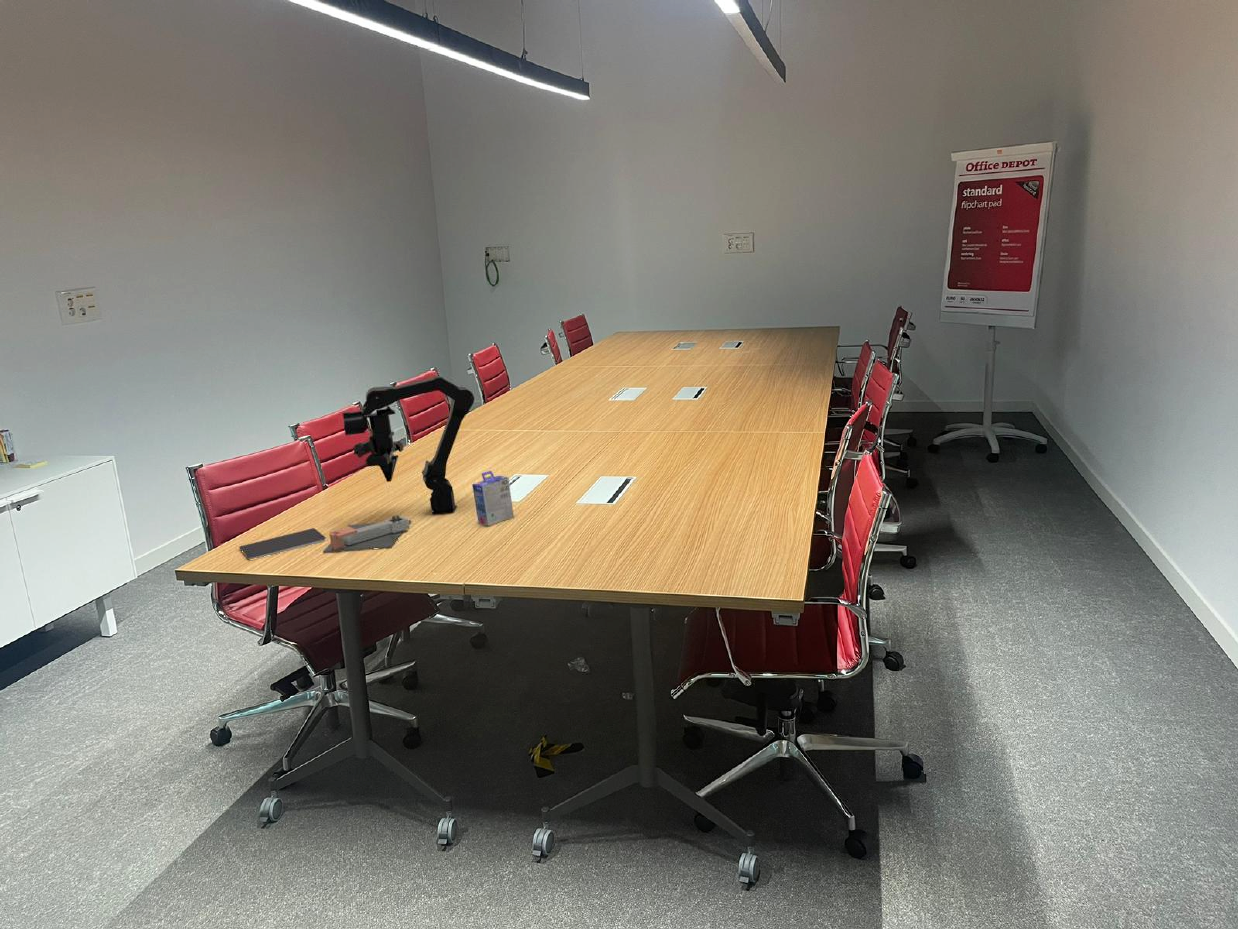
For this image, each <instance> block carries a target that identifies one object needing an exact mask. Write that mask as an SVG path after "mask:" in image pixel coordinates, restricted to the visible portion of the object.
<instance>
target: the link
mask: <svg viewBox="0 0 1238 929" xmlns="http://www.w3.org/2000/svg"><path fill="white" fill-rule="evenodd" d="M398 516H399V519H400V521H397V522H393V521H392V517H391V518H388V519H384V520H383V521H380V522H375V523H376V524H373V525H369V526H366V527H362V528H359V529H355V530H357V532H358V533H356V534H353V535H349V536H346V537H342V538H343V543H345V544H347V545H351V544H355V543H358V542H362V541H365V540H368V539H372V538H375V537H379V536H382V535H386V534H389V533H396V532H399V531H403V530H405V531H406V530H409V529H410V525H409V519H408V518H406V517H405V516H401V515H398Z"/></svg>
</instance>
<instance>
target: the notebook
mask: <svg viewBox="0 0 1238 929" xmlns="http://www.w3.org/2000/svg"><path fill="white" fill-rule="evenodd" d="M324 541H325V542H326V536H324V535H323V534H322V533H321V532H320V531H318V530H317V529H316V528H314V527H312V528H309V529H305V530H301V531H297V532H293V533H288V534H284V535H281V536H277V537H273V538H268V539H264V540H261V541H255V542H252V543H249V544H245V545H240V546H239V550H240V549H241V550H242V551H243V552H244V553H243V552H242V551H241V550H240V551H241V552H242V553H243V554H244V556H247V557H246V558H249V559H254V558H260V557H264V556H267V555H271V556H274V555H273V554H275V555H278V554H277V553H279V554H281V553H280V552H283V553H285V552H284V551H287V552H290V550H291V551H294V549H295V550H297V548H298V549H301V548H305V547H309V546H308V545H310V546H313V545H312V544H314V545H317V544H321V542H322V543H324ZM267 557H268V556H267ZM264 558H265V557H264ZM249 559H248V560H249ZM260 559H261V558H260Z"/></svg>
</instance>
